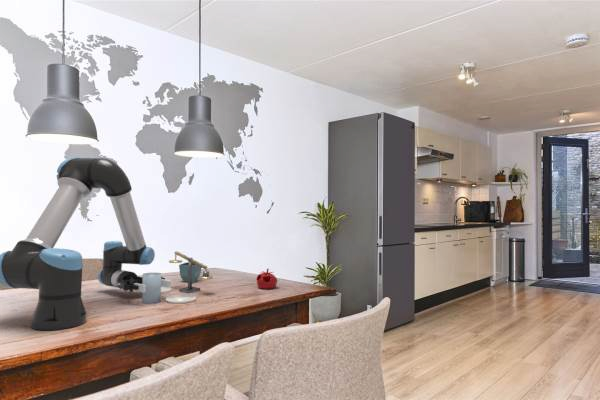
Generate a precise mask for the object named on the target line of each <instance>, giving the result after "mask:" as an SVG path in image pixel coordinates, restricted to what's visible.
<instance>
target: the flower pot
mask: <svg viewBox="0 0 600 400" xmlns="http://www.w3.org/2000/svg"><path fill="white" fill-rule="evenodd" d="M200 263H201V264H203V263H202V262H200ZM178 267H179V275H180V277H181V279H182V281H183V282H184V283H188V261H187V262H184V263H183V262H182V263H179V264H178ZM202 269H203V268H202V267H200V266H198V265H196V264H194V263H193V264H192V283H193V282H197V281H198V280H199V276H201V273H202Z"/></svg>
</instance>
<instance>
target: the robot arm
mask: <svg viewBox="0 0 600 400" xmlns="http://www.w3.org/2000/svg"><path fill="white" fill-rule="evenodd" d="M56 173H57V174H56V180H57V187H58V188H57V189H56V191H55V193H54V194H53V196H52V198H51V199H50V201H49V202H48V203H47V205H46V207H45V209H44V210H43V211H42V213H41V215H40V217H39V218H38V219H37V220H36V222H35V224H34V225H33V227H32V229H31V230H30V232H29V233H28V235H27V236H26V238H25V239H22V240H18V242H17V243H16V244H15V246H14V247H13V248H12V250H6V251H4V252H1V253H0V285H1V286H3V287H7V288H12V289H25V290H26V289H27V290H31V289H32V290H38V300H37V304H36V306H35V309H34V311H33V315H32V316H31V319H30V327H31V328H32V329H33V330H38V331H57V330H64V329H70V328H74V327H78V326H81V325H82V324H85V323H86V322H87V317H88V316H87V315H88V314H87V312H86V309H85V305H84V302H83V299H82V287H83V286H82V285H83V284H82V282H83V281H82V280H83V267H84V265H83V255H82V253H80V252H79V251H76V250H74V249H68V248H57V247H56V248H55V246H56V244H57V242H58V240H59V239H60V237H61V235H62V233H63V232H64V230H65V229H66V227H67V225H68V223H69V222H70V220H71V218H72V216H73V215H74V213H75V211H76V209H78V206H79V205H80V203H81V200H83V199H84V198H87V197H89V195H91V192H92V190H93V189H102V190H103V191H104V193H105V195H106V197H108V198H109V199H110V201H111V204H112V208H113V210H114V213H115V216H116V219H117V222H118V226H119V229H120V232H121V235H122V238H123V241H124V244H125V245H123V242H122V241H121V240H111V241H109V240H108V241H105V242H104V244H103V250H102V252H103V255H102V269H100V270H99V272H98V274H97V280H98V281H99V284H102V285H105V286H107V287H112V288H118V289H119V290H123V291H125V292H126V291H129V293H133V292H134V291H135V292H139V293H142V292H146V285H143V284H142V278H143V276H138V275H137V274H136V272H133V271H130V270H124V269H122V268H123V265H125V264H127V265H140V266H143V265H151V264H152V263H153V262H154V259H155V255H156V254H155V250H154V248H153V247H150V246H147V244H146V241H145V237H144V235H143V231H142V228H141V225H140V220H139V217H138V215H137V214H138V213H137V210H136V208H135V204H134V201H133V198H132V195H131V191H132V185H131V182H130V180H129V178H128V176H127V174H126V172H125V171H124V170H123V169H122V168H121V167H120V166H119V165H118V164H117V163H116V162H114V161H113V160H111V159H109V158H105V157H103V158H102V157H97V158H96V157H95V158H94V157H91V158H90V157H89V158H88V157H73V158H67V159H65V160H63V161H62V162H60V164H59V166H58V167H57V170H56ZM161 286H163V287H168V288H171V289H172V280H169V279H166V278H165V277H163V276H161Z"/></svg>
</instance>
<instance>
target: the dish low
mask: <svg viewBox="0 0 600 400" xmlns="http://www.w3.org/2000/svg"><path fill="white" fill-rule="evenodd" d="M196 301H197V296H196V295H194V294H186V293H185V294H172V295H169V296H166V297H165V302H166V303H167V304H177V305H179V304H188V303H189V304H190V303H194V302H196Z"/></svg>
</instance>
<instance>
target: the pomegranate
mask: <svg viewBox="0 0 600 400" xmlns="http://www.w3.org/2000/svg"><path fill="white" fill-rule="evenodd" d="M269 270H270V269H269V268H267V269H266V272H265V271H261V272H259V274H257V276H256V286H257V288H259V289H265V290H272V289H275V288H277V287H276V286H277V284H278V278H277V277H276V275H275V274H273V271H269Z"/></svg>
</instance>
